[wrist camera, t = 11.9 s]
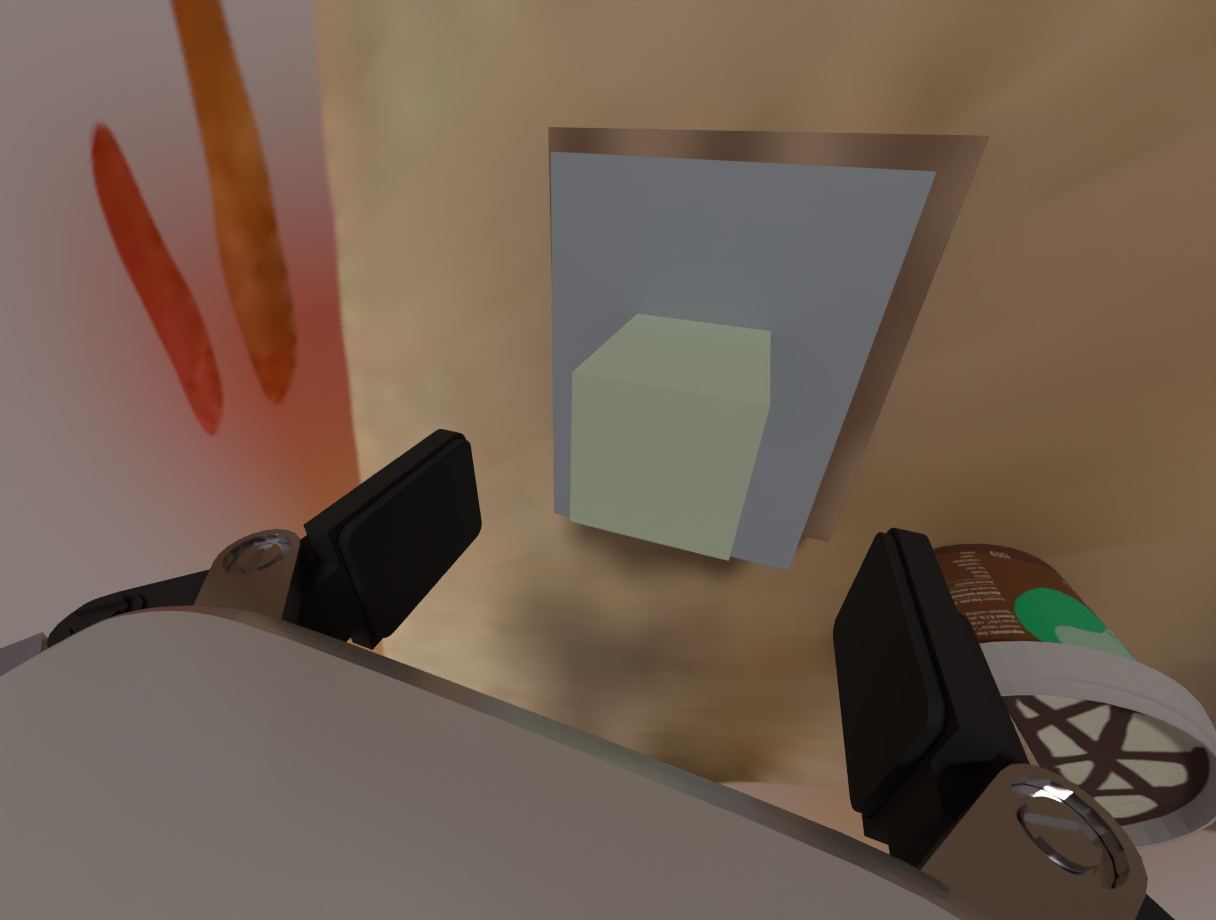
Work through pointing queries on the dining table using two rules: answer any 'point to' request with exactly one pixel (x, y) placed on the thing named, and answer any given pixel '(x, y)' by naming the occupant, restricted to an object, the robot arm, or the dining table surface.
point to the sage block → (669, 431)
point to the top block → (735, 293)
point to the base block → (942, 206)
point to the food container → (1087, 695)
